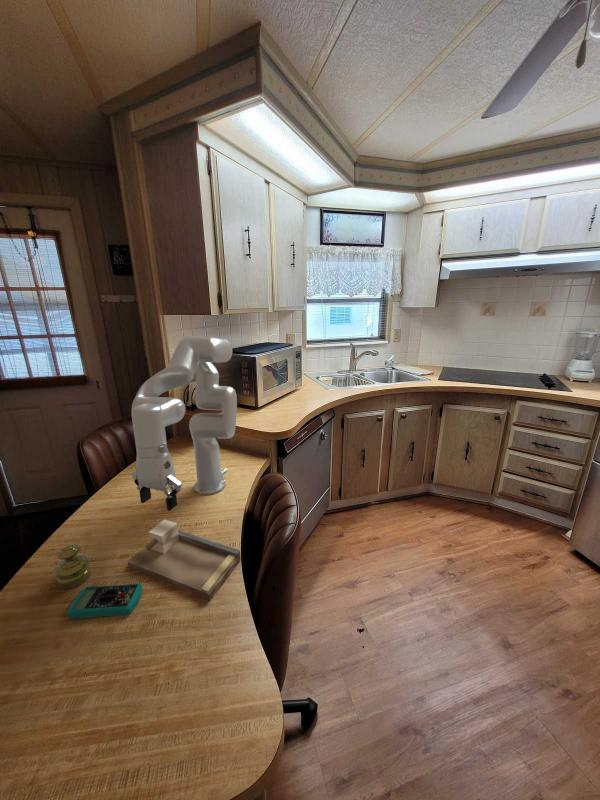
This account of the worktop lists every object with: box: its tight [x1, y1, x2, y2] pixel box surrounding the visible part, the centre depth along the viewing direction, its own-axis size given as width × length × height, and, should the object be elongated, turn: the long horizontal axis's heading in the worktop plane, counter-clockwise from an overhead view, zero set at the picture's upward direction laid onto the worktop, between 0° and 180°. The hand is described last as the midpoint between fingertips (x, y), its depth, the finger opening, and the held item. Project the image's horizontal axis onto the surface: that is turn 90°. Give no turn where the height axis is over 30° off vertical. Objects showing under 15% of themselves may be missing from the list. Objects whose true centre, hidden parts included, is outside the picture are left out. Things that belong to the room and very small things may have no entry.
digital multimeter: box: [66, 583, 143, 620], centre depth 75 cm, size 7×15×3 cm, turn 95°
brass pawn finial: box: [54, 543, 92, 590], centre depth 81 cm, size 7×7×10 cm
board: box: [126, 529, 242, 601], centre depth 87 cm, size 14×28×4 cm, turn 68°
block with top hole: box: [145, 519, 179, 554], centre depth 90 cm, size 9×5×6 cm, turn 158°
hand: (159, 504), depth 87 cm, fingers open, 9 cm apart
